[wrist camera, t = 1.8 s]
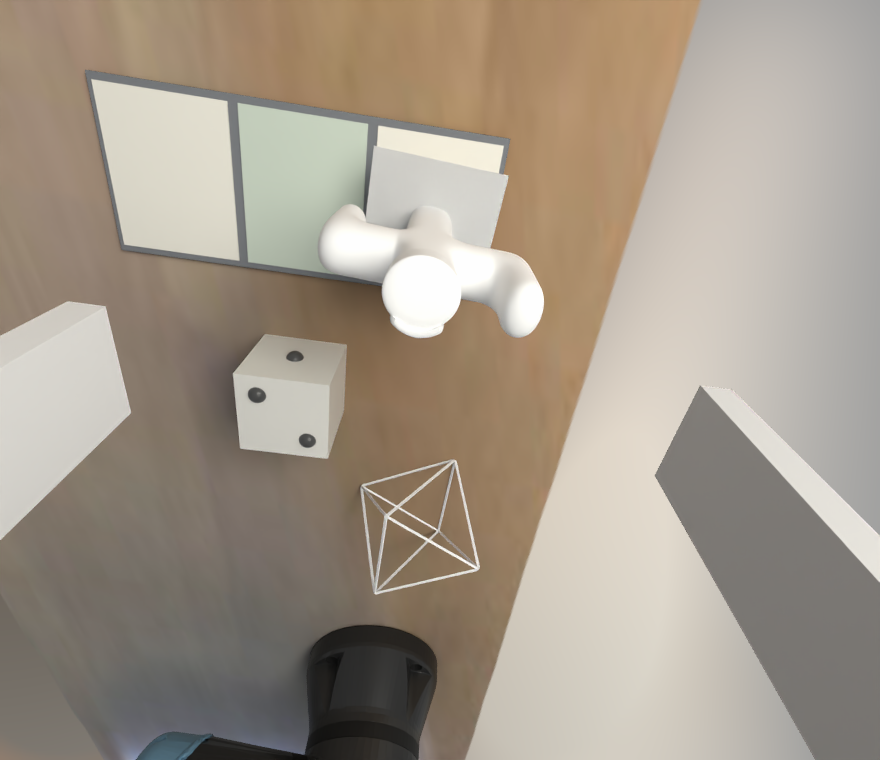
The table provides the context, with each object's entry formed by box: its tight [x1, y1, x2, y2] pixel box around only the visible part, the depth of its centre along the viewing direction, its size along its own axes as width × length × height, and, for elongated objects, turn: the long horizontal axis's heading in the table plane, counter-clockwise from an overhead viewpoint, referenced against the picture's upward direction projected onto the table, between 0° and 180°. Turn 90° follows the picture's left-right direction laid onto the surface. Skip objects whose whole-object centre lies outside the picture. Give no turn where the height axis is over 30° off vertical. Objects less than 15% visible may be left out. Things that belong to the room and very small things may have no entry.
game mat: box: [85, 70, 510, 286], centre depth 29 cm, size 10×24×1 cm, turn 82°
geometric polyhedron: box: [360, 459, 480, 594], centre depth 39 cm, size 10×9×8 cm
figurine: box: [318, 146, 544, 338], centre depth 23 cm, size 7×9×15 cm
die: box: [233, 334, 347, 459], centre depth 33 cm, size 6×6×6 cm
